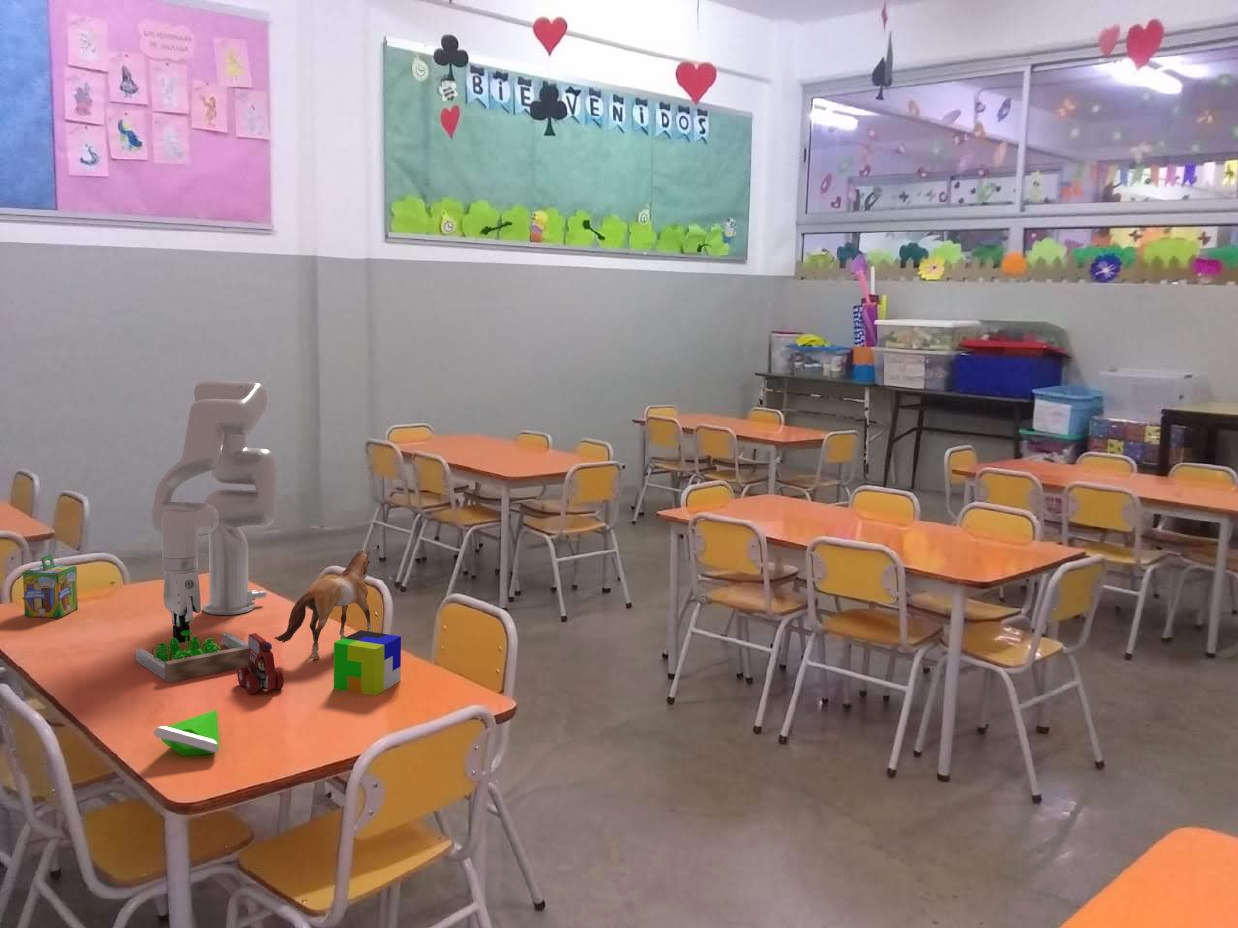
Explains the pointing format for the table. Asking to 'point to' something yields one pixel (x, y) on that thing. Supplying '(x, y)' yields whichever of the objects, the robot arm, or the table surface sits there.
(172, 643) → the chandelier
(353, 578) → the horse figurine
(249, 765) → the table surface
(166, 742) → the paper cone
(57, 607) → the chalk box
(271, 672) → the toy fire truck
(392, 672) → the puzzle toy
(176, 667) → the walnut bay
